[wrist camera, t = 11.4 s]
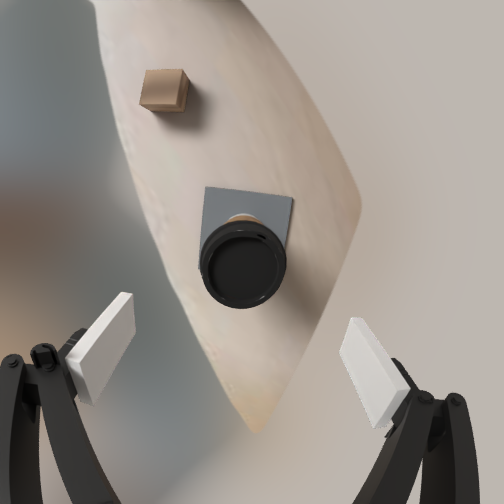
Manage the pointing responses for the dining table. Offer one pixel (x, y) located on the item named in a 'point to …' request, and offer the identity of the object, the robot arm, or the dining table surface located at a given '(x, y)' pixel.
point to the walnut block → (165, 90)
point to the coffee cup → (242, 262)
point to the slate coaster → (244, 210)
